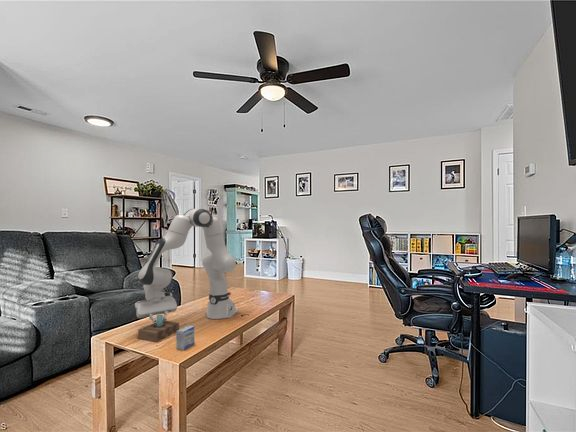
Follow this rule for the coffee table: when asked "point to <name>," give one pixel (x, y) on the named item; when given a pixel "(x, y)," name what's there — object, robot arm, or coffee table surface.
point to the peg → (159, 321)
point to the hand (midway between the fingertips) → (159, 321)
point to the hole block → (158, 331)
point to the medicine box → (185, 337)
